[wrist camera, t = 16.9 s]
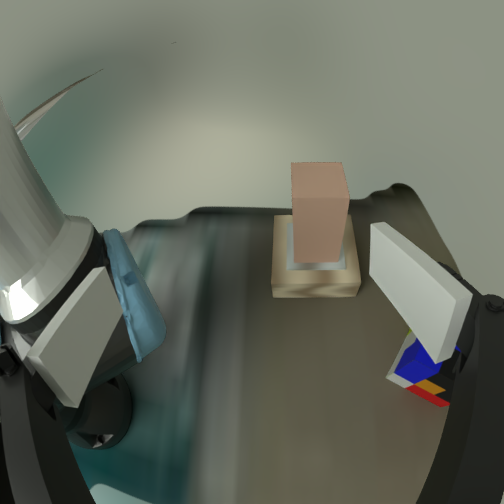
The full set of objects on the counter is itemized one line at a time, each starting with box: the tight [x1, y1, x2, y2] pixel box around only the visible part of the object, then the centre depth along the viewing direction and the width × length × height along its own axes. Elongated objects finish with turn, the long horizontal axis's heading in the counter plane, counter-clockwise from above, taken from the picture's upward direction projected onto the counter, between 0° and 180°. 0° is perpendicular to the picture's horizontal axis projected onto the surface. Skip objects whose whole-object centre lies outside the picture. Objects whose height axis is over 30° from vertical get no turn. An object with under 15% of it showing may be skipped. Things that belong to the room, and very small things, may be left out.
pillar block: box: [291, 162, 350, 263], centre depth 34 cm, size 6×6×12 cm
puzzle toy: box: [386, 328, 461, 407], centre depth 27 cm, size 10×10×10 cm
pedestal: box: [271, 215, 361, 298], centre depth 41 cm, size 12×12×5 cm
